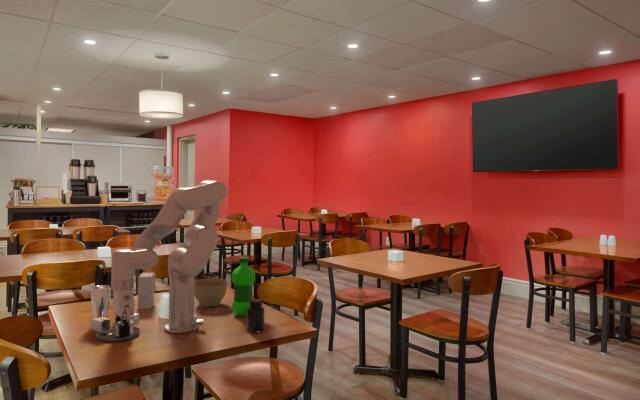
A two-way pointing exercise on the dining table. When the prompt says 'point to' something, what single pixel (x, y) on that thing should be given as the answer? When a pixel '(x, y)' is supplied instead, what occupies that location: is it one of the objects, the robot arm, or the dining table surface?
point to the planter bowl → (210, 291)
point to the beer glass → (100, 300)
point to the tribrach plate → (110, 337)
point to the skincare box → (146, 290)
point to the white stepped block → (134, 319)
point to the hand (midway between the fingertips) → (122, 333)
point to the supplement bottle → (255, 316)
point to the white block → (100, 324)
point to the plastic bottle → (242, 286)
